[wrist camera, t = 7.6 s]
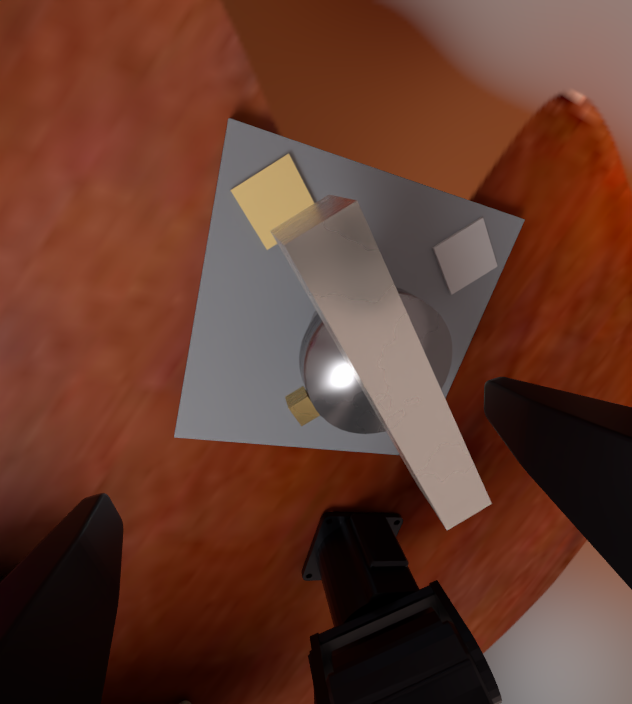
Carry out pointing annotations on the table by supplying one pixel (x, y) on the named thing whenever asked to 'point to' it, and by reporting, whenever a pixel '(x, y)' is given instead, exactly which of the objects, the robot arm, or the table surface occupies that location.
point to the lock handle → (376, 355)
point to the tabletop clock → (185, 702)
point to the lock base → (291, 299)
